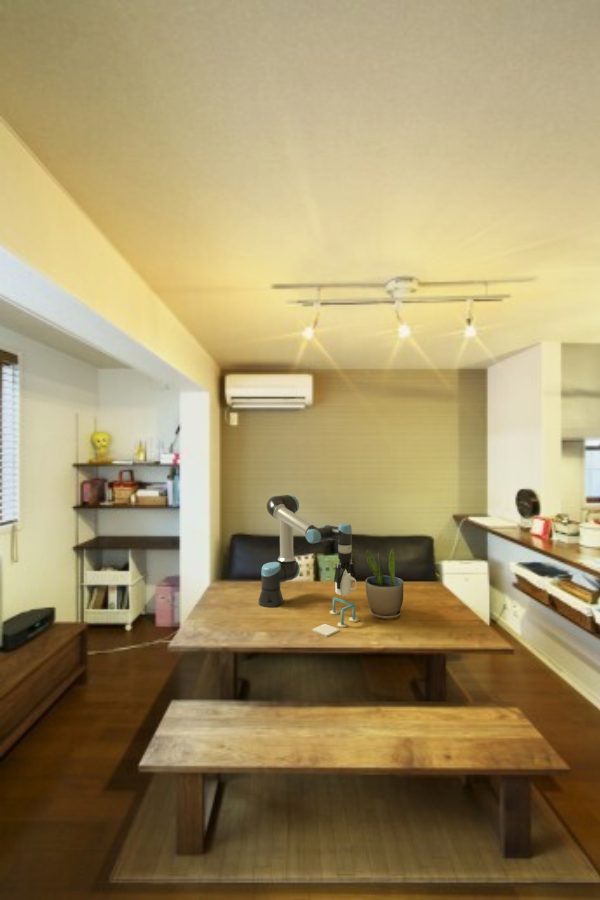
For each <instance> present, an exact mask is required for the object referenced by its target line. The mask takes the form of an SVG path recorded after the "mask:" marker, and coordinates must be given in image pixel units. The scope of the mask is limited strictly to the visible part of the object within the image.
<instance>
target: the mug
mask: <svg viewBox="0 0 600 900" xmlns="http://www.w3.org/2000/svg"><path fill="white" fill-rule="evenodd" d="M351 580H353V582H355V586H354V587H353V588H351ZM334 583H335V584H334V588H335V589H334V591H335V594H336V595H338V596H340V595H339V594H337V583H336V582H334ZM341 583H342V595H341V596H348V595H350V594H351V592H354V591H355V590H356V589H357V586H358V584H357V583H358V582H357V580H356V577H354V578H353V577H352V576H351V574H350V573H349V574H348V573H347V571H344V573H343V577H342V580H341Z"/></svg>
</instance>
